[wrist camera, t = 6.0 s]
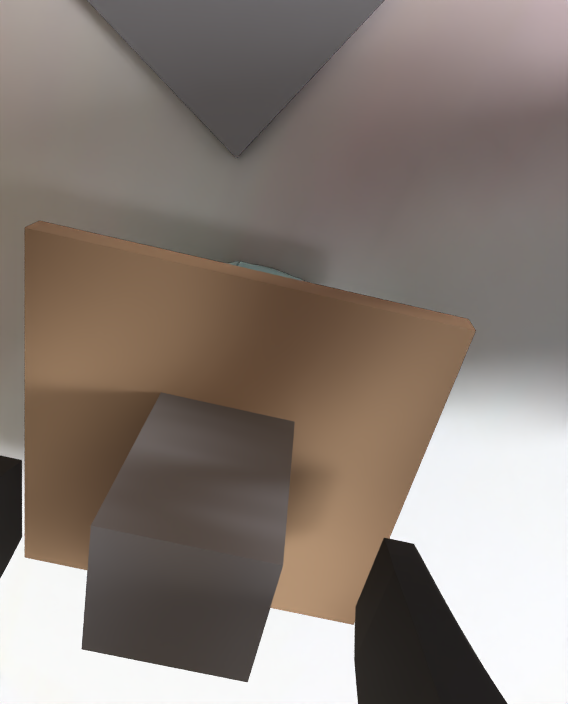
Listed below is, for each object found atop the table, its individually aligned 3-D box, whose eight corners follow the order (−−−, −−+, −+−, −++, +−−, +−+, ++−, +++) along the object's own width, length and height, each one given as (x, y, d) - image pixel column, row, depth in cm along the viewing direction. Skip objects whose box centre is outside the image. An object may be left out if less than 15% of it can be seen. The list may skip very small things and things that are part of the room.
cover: (468, 319, 11) (553, 453, 7) (352, 605, 15) (363, 798, 11) (39, 220, 11) (-134, 302, 7) (35, 540, 15) (-75, 714, 11)
